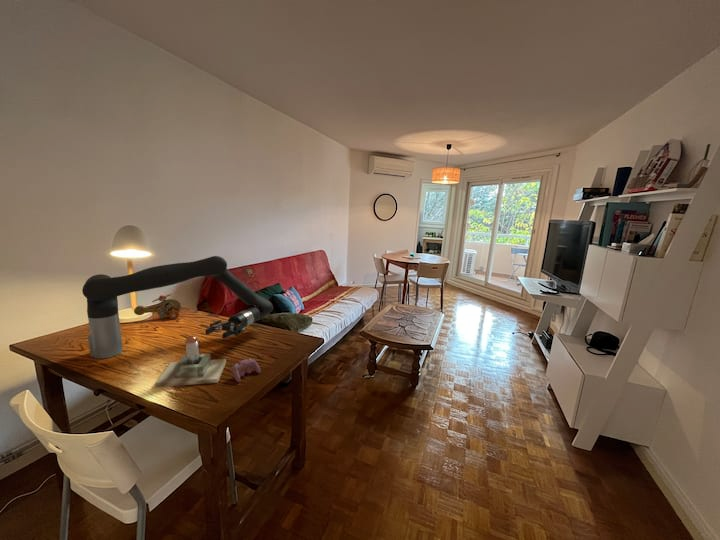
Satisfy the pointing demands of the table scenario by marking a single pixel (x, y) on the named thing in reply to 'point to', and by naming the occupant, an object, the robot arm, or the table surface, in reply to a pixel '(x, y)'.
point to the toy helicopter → (162, 308)
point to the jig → (192, 372)
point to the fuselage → (192, 350)
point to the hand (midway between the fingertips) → (214, 334)
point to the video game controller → (242, 364)
